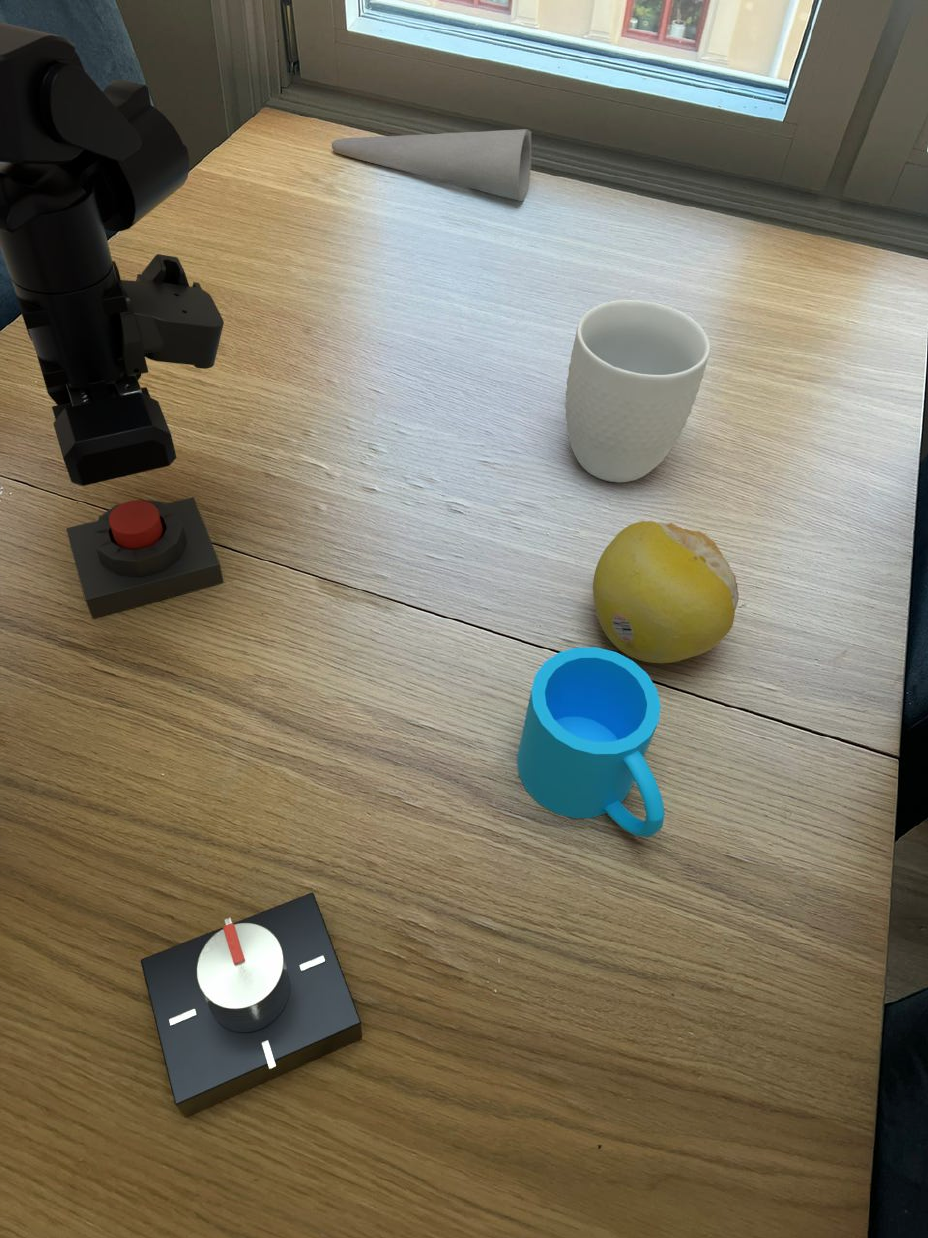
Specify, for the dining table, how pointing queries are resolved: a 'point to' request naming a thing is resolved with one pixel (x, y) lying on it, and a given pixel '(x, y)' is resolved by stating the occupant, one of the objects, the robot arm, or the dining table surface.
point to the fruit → (664, 592)
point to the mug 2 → (591, 738)
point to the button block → (144, 560)
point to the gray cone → (453, 158)
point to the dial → (243, 977)
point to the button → (135, 524)
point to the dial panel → (237, 1061)
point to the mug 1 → (632, 386)
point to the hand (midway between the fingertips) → (121, 469)
